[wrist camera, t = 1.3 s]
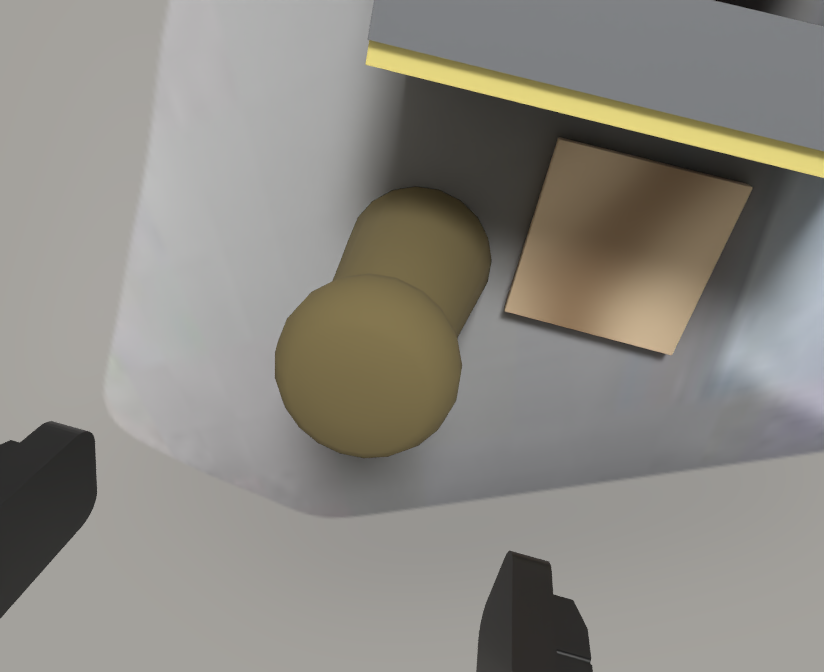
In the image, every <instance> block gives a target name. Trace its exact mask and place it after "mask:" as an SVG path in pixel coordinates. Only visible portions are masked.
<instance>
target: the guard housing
mask: <svg viewBox="0 0 824 672" xmlns="http://www.w3.org/2000/svg"><path fill="white" fill-rule="evenodd" d="M368 40H369V46H368V52H367V58H366V65H369V66H373V67H377V68H381V69H385V70H389V71H393V72H397V73H402V74H406V75H410V76H414V77H418V78H422V79H426V80H430V81H434V82H438V83H442V84H446V85H450V86H454V87H458V88H462V89H466V90H470V91H474V92H478V93H482V94H486V95H490V96H495V97H499V98H503V99H507V100H511V101H515V102H519V103H523V104H527V105H531V106H535V107H539V108H543V109H547V110H551V111H555V112H559V113H563V114H567V115H571V116H575V117H579V118H583V119H588V120H592V121H596V122H600V123H604V124H608V125H612V126H616V127H620V128H624V129H628V130H632V131H636V132H640V133H644V134H648V135H652V136H656V137H660V138H664V139H668V140H672V141H676V142H681V143H685V144H689V145H693V146H697V147H701V148H705V149H709V150H713V151H717V152H721V153H725V154H729V155H733V156H737V157H741V158H745V159H749V160H753V161H757V162H761V163H765V164H769V165H774V166H778V167H782V168H786V169H790V170H794V171H798V172H802V173H806V174H810V175H814V176H818V177H822V178H824V26H820V25H816V24H812V23H808V22H803V21H799V20H795V19H791V18H786V17H782V16H778V15H774V14H769V13H765V12H761V11H757V10H753V9H748V8H744V7H740V6H736V5H731V4H727V3H723V2H719V1H714V0H374V4H373V10H372V16H371V23H370V29H369V35H368Z"/></svg>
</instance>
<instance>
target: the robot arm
mask: <svg viewBox="0 0 824 672" xmlns="http://www.w3.org/2000/svg"><path fill="white" fill-rule="evenodd" d="M95 458H96V457H95V439H94V436H93V434H92V433H91V432H88V431H85V430H81V429H78V428H74V427H71V426H67V425H63V424H60V423H56V422H53V421H50V422H46V423H44V424H42V425H41V426H40V427H38V428H37V429H36V430H35V431H33V432H32V433H31V434H30V435H29V436H27V437H26V438H25V439H24V440H23V441H22V442H20V443H19V442H15V441H12V440H10V441H8V442H5V443H3V444H1V445H0V618H1V617H2V616H3V615H4V614H5V613H6V611H7V610H8V609H9V608H10V607H11V605H13V604H14V602H15V601H16V600H17V599H18V598H19V597H20V596H21V595H22V593H23V592H24V591H25V590H26V589H27V588H28V587H29V585H30V584H31V583H32V582H33V581H34V580H35V578H36V577H37V576H38V575H39V574H40V573H41V572H42V571H43V570H44V568H45V567H46V566H47V565H48V564H49V563H50V562H51V561H52V559H53V558H54V557H55V556H56V555H57V554H58V553H59V551H60V550H61V549H62V548H63V547H64V546H65V545H66V544H67V542H68V541H69V540H70V539H71V538H72V537H73V536H74V535H75V533H76V532H77V531H78V530H79V529H80V528H81V527H82V525H83V524H84V523H85V522H86V520H87V518H88V517H89V515H90V513H91V511H92V509H93V507H94V503H95V500H96V496H97V481H96V459H95ZM478 641H479V642H478V655H477V672H593V670H592V665H591V664H590V661H591V653H590V645H589V637H588V629H587V627H586V625H585V623H584V621H583V619H582V617H581V615H580V613H579V611H578V609H577V607H576V605H575V603H574V601H573V600H571V599H567V598H564V597H560V596H557V595H553V587H552V571H551V565H550V563H549V562H548V561H545V560H541V559H537V558H534V557H530V556H527V555H523V554H519V553H516V552H512V551H509V552H508V553H507V554H506V556H505V558H504V561H503V564H502V566H501V568H500V571H499V573H498V575H497V578H496V580H495V583H494V586H493V588H492V590H491V593H490V595H489V597H488V600H487V602H486V605H485V608H484V611H483V616H482V620H481V625H480V631H479V640H478Z"/></svg>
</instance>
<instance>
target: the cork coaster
mask: <svg viewBox="0 0 824 672" xmlns="http://www.w3.org/2000/svg"><path fill="white" fill-rule="evenodd" d="M752 189H753V187H751V186H750V185H748V184H745V183H741V182H737V181H733V180H729V179H725V178H721V177H717V176H713V175H709V174H705V173H701V172H697V171H693V170H689V169H685V168H681V167H677V166H673V165H669V164H665V163H661V162H657V161H653V160H649V159H645V158H641V157H637V156H633V155H629V154H625V153H621V152H617V151H613V150H609V149H605V148H601V147H597V146H593V145H589V144H585V143H581V142H577V141H573V140H569V139H565V138H561V137H558V140H557V143H556V146H555V149H554V152H553V155H552V159H551V162H550V165H549V168H548V171H547V174H546V178H545V181H544V184H543V187H542V190H541V193H540V197H539V200H538V203H537V206H536V209H535V212H534V215H533V219H532V222H531V225H530V228H529V231H528V234H527V238H526V241H525V244H524V247H523V250H522V253H521V256H520V260H519V263H518V266H517V269H516V272H515V275H514V279H513V282H512V285H511V288H510V291H509V294H508V298H507V301H506V304H505V311H506V312H509V313H513V314H517V315H521V316H525V317H528V318H532V319H536V320H540V321H544V322H547V323H551V324H555V325H559V326H562V327H566V328H570V329H574V330H578V331H581V332H585V333H589V334H593V335H596V336H600V337H604V338H608V339H612V340H615V341H619V342H623V343H627V344H631V345H634V346H638V347H642V348H646V349H649V350H653V351H657V352H661V353H665V354H668V355H672V354H673V352H674V350H675V348H676V346H677V344H678V342H679V340H680V338H681V335H682V333H683V331H684V329H685V327H686V325H687V323H688V321H689V319H690V317H691V315H692V313H693V311H694V309H695V307H696V304H697V302H698V300H699V298H700V296H701V294H702V292H703V290H704V288H705V286H706V284H707V282H708V280H709V278H710V276H711V273H712V271H713V269H714V267H715V265H716V263H717V261H718V259H719V257H720V255H721V253H722V251H723V249H724V247H725V244H726V242H727V240H728V238H729V236H730V234H731V232H732V230H733V228H734V226H735V224H736V222H737V220H738V218H739V216H740V213H741V211H742V209H743V207H744V205H745V203H746V201H747V199H748V197H749V195H750V193H751V191H752Z"/></svg>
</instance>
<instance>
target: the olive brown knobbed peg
mask: <svg viewBox="0 0 824 672" xmlns="http://www.w3.org/2000/svg"><path fill="white" fill-rule="evenodd" d="M490 266H491V254H490V247H489V241H488V237H487V235H486V233H485V231H484V229H483V227H482V225H481V223H480V221H479V219H478V217H476V216H475V215H474V214H473V213H472V212H471V211H470V210H469V209H468V208H467V207H466V206H465V205H464V204H463V203H462V202H461V201H460V200H458V199H456V198H454V197H452V196H450V195H448V194H446V193H444V192H442V191H440V190H436V189H429V188H422V187H416V186H415V187H409V188H403V189H398V190H392V191H390V192H389V193H387V194H385V195H383V196H381V197H379V198H378V199H376V200H374V201H372V202H371V204H370V205H369V206H368V207H367V208H366V209H365V210H364V211H363V212H362V214H361V215H360V216H359V217H358V219H357V221H356V223H355V226H354V228H353V230H352V233H351V235H350V238H349V240H348V243H347V245H346V248H345V250H344V253H343V256H342V258H341V261H340V263H339V266H338V268H337V271H336V274H335V276H334V279H333V281H332V282H330V283H328V284H326V285H324V286H322V287H320V288H318V289H316V290H314V291H313V292H311V293H310V294H309V295H308V296H307V298H306V299H305V300H304V301H303V302H302V303H301V304H300V305H299V306H298V307H297V308H296V309H295V310H294V312H293V313H292V314H291V315H290V316H289V317H288V318H287V320H286V323H285V325H284V328H283V330H282V333H281V335H280V338H279V341H278V343H277V347H276V351H275V379H276V382H277V385H278V388H279V391H280V394H281V397H282V400H283V403H284V405H285V408H286V409H287V411H288V412H289V414H290V415H291V416H292V418H293V419H294V421H295V422H296V423H297V425H298V426H299V428H301V429H302V430H303V431H304V432H305V433H307V434H308V435H309V436H310V437H312V438H313V439H314V440H315V441H316V442H318V443H319V444H322V445H324V446H326V447H328V448H330V449H332V450H334V451H336V452H339V453H341V454H346V455H351V456H356V457H361V458H373V457H388V456H391V455H394V454H396V453H399V452H402V451H405V450H407V449H410V448H413V447H415V446H418V445H419V444H421V443H422V442H423V441H424V440H426V439H427V438H428V437H430V436H431V435H432V434H433V433H435V432H436V431H437V430H438V429H439V427H440V426H441V424H442V423H443V421H444V420H445V418H446V416H447V415H448V413H449V412H450V410H451V408H452V407H453V405H454V403H455V402H456V398H457V393H458V387H459V381H460V375H461V369H462V362H461V357H460V351H459V346H458V341H457V337H458V336H459V334H460V332H461V330H462V328H463V326H464V324H465V323H466V321H467V319H468V317H469V315H470V313H471V311H472V310H473V308H474V306H475V304H476V302H477V300H478V298H479V297H480V295H481V293H482V291H483V289H484V287H485V286H486V284H487V282H488V277H489V271H490Z"/></svg>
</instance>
